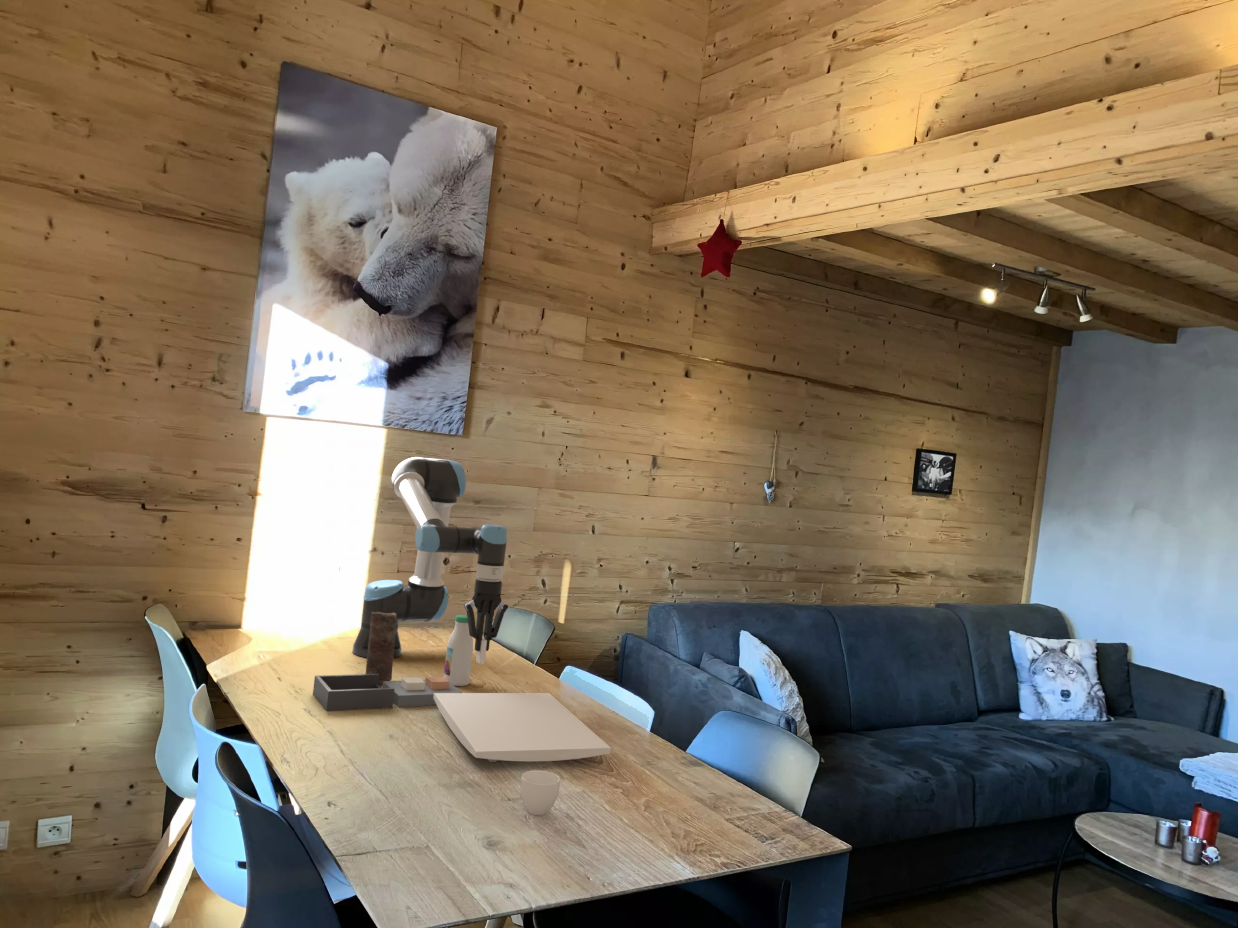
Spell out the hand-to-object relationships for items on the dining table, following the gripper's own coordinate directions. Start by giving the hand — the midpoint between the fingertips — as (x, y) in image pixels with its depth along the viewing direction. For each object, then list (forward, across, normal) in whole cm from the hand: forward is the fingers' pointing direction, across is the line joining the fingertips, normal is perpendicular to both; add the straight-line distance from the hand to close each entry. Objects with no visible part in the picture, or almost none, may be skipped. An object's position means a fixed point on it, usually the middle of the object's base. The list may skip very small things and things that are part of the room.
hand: (480, 662), depth 255 cm
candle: (+10, -23, +18) cm, 31 cm away
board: (+11, -4, -34) cm, 36 cm away
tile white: (+7, -19, 0) cm, 20 cm away
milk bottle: (+10, -1, +14) cm, 17 cm away
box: (+10, -35, 0) cm, 36 cm away
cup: (+11, -19, -76) cm, 80 cm away
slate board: (+10, -16, 0) cm, 19 cm away
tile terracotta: (+7, -12, 0) cm, 14 cm away
